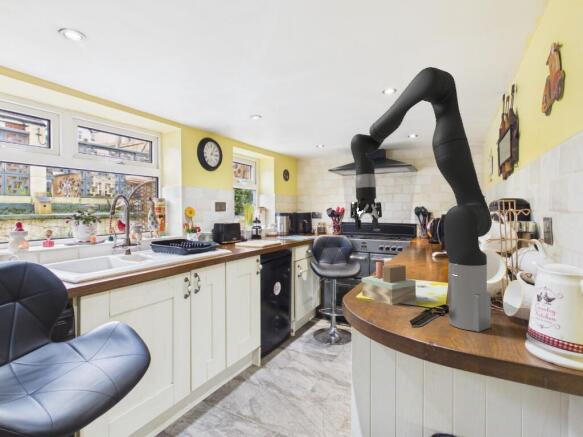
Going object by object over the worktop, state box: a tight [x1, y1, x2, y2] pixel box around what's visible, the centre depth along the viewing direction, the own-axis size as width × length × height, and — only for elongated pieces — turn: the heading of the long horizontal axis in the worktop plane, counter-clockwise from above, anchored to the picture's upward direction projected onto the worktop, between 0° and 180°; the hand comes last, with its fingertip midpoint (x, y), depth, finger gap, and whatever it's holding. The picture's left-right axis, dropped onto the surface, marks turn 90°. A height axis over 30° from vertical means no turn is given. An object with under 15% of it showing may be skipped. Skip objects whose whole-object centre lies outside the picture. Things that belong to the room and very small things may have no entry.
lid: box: [361, 264, 417, 290], centre depth 111 cm, size 14×12×6 cm
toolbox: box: [361, 281, 417, 306], centre depth 111 cm, size 14×12×6 cm
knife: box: [409, 303, 449, 328], centre depth 94 cm, size 25×6×1 cm, turn 129°
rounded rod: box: [375, 261, 384, 279], centre depth 115 cm, size 2×2×12 cm
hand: (367, 229), depth 119 cm, fingers open, 8 cm apart
